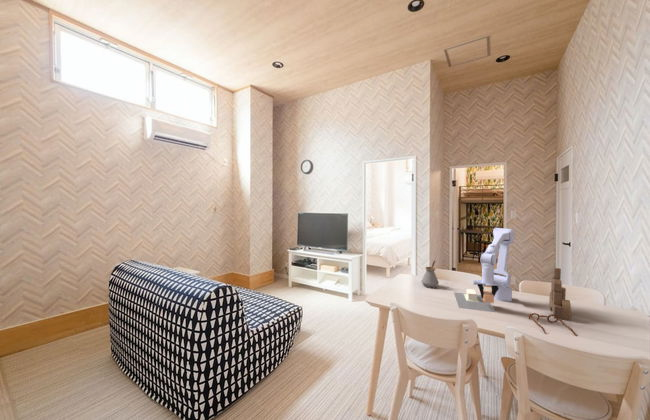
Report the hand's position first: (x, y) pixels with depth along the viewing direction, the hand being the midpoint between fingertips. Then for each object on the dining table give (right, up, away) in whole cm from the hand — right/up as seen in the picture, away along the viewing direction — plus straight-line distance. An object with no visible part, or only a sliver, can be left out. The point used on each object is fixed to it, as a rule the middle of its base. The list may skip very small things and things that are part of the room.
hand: (487, 298), depth 149 cm
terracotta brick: (0, -1, 0) cm, 1 cm away
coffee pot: (-15, -4, +42) cm, 45 cm away
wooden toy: (+35, -7, -7) cm, 36 cm away
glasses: (+18, -8, -21) cm, 29 cm away
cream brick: (-2, -4, +13) cm, 14 cm away
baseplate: (-4, -6, +8) cm, 11 cm away
